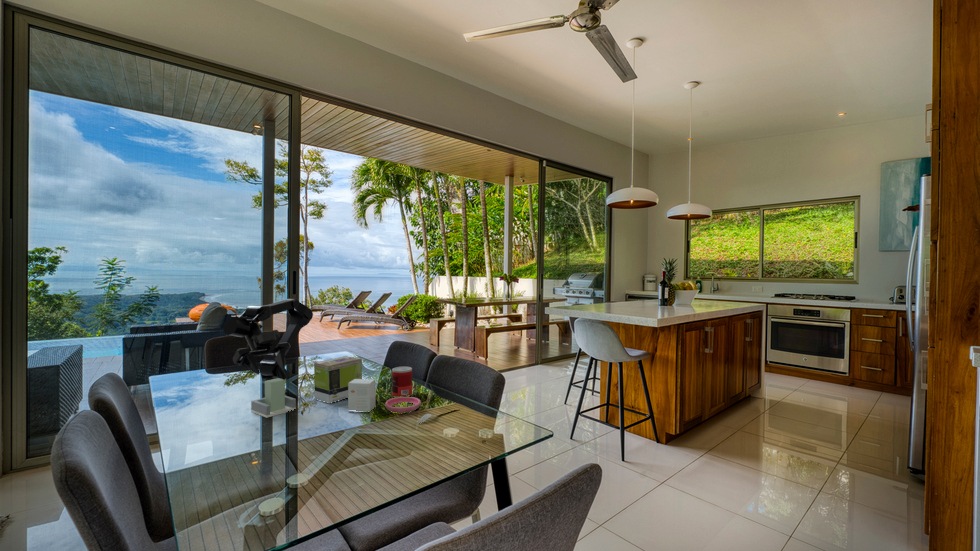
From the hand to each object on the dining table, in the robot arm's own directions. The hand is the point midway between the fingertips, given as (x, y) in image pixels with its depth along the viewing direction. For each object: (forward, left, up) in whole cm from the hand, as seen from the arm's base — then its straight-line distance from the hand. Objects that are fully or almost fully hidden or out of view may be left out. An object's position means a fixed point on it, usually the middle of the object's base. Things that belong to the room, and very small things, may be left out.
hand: (271, 371), depth 151 cm
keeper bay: (+1, +3, -13) cm, 14 cm away
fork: (-25, +55, -14) cm, 62 cm away
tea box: (-22, +9, -14) cm, 27 cm away
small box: (-16, +28, -14) cm, 35 cm away
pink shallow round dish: (-24, +40, -14) cm, 49 cm away
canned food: (-36, +29, -14) cm, 48 cm away
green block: (+1, +3, -13) cm, 13 cm away
